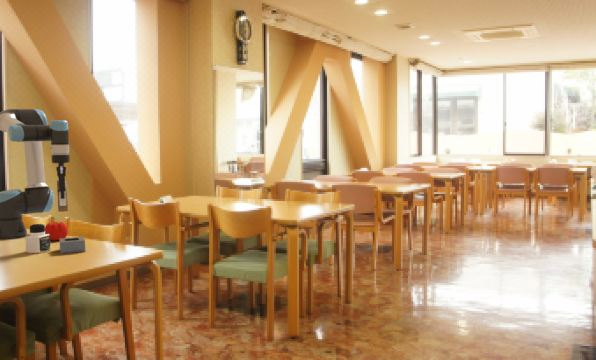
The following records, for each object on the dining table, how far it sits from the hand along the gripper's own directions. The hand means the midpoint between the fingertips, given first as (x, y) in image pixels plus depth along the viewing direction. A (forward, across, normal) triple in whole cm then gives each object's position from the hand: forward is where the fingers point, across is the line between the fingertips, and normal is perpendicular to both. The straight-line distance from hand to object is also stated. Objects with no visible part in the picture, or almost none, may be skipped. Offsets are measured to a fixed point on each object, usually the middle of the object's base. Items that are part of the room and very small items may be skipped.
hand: (62, 205), depth 252 cm
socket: (+19, +14, +3) cm, 24 cm away
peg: (+3, 0, 0) cm, 3 cm away
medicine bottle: (+19, +9, -11) cm, 24 cm away
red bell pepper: (+19, -16, -3) cm, 25 cm away
